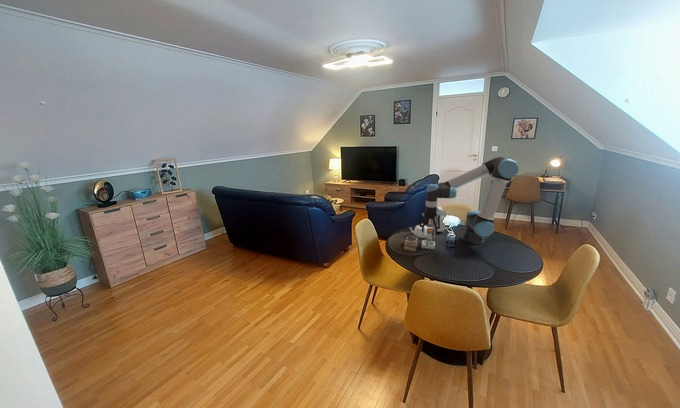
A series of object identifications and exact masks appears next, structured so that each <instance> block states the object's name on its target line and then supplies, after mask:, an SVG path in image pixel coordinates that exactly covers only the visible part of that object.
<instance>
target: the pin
mask: <svg viewBox="0 0 680 408" xmlns="http://www.w3.org/2000/svg"><path fill="white" fill-rule="evenodd" d="M426 232H427V234H426V238H425V240H426V245H430V246H431V243H432V241H433V234H434V230H433V229H432V228H427V231H426Z"/></svg>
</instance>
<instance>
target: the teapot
mask: <svg viewBox="0 0 680 408" xmlns="http://www.w3.org/2000/svg"><path fill="white" fill-rule="evenodd" d="M422 225H423V223H422ZM424 227H425V233H424V237H423V232H422V227H420V224H418V225H417V224H416V226H415V227H414V230H413V228H412V227H411V226H410V227H409V229H410V232H411V234H413V236H415V237H416V238H418V239H426V234H427V232H426V231H427V228H432V226H427V225H425V226H424ZM432 229H433V228H432Z"/></svg>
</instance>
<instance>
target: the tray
mask: <svg viewBox="0 0 680 408" xmlns="http://www.w3.org/2000/svg"><path fill="white" fill-rule="evenodd" d="M421 240H422V239H421ZM435 247H436V241H433V240H432V243H431V246H430V245H426V239H424V240H422V241H421V248H420V249H424V248H425V249H426V250H433V251H435Z"/></svg>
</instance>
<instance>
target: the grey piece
mask: <svg viewBox="0 0 680 408" xmlns="http://www.w3.org/2000/svg"><path fill="white" fill-rule="evenodd" d="M436 207H437V209H436V213H437V214H438V215H441V216H440V229H437V232H441V233H443V232H445V230H446V225H445V224H444V223H443V220H444V218H445V217H446V216H447V212H446V211H447V210H446V209H445V208H444V207H441V206H436ZM447 217H448V216H447ZM429 220H430V224H431V227H432V228H433V231H434V228H435V226H434V223H433V220H432V219H429ZM435 222H436V225H437V227H438V218H437V216H436V217H435Z"/></svg>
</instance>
